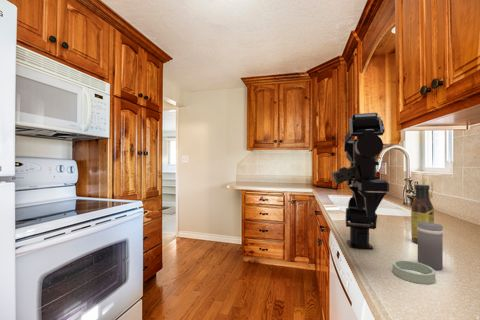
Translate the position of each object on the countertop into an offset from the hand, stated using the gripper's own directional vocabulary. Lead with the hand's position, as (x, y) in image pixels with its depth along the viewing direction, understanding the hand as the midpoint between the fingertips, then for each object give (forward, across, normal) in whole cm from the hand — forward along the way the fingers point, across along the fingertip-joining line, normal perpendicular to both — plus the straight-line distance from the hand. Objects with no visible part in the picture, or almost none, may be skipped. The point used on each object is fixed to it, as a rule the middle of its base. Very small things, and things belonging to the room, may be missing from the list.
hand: (364, 213), depth 67 cm
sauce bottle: (+13, -21, +24) cm, 35 cm away
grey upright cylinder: (+13, 0, +16) cm, 21 cm away
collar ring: (+13, +7, +9) cm, 17 cm away
